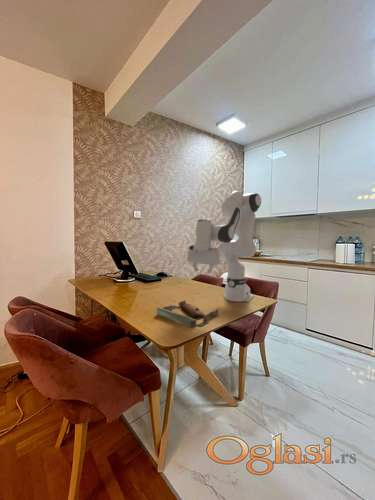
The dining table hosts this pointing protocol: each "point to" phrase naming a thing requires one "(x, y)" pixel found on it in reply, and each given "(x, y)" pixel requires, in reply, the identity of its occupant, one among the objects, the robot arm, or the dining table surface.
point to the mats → (196, 325)
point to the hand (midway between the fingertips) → (202, 271)
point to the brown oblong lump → (192, 311)
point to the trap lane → (182, 319)
